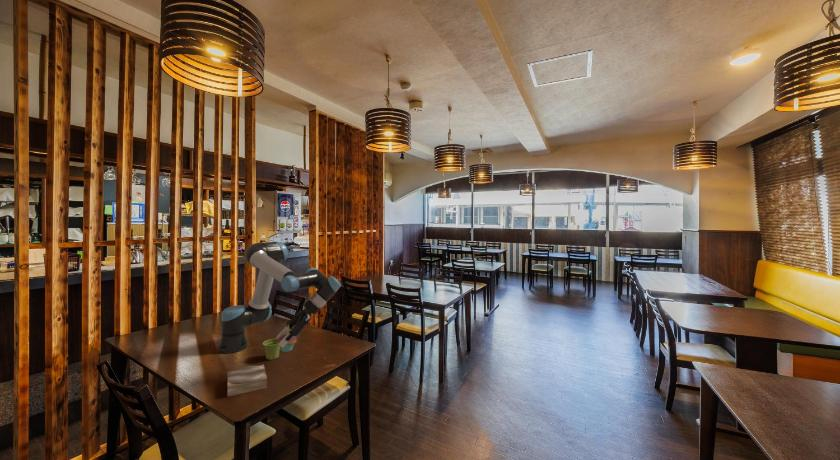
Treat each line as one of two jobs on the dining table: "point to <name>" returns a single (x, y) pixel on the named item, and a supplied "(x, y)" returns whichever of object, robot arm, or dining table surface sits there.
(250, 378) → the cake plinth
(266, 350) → the plant pot
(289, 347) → the cupcake
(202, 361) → the dining table surface
